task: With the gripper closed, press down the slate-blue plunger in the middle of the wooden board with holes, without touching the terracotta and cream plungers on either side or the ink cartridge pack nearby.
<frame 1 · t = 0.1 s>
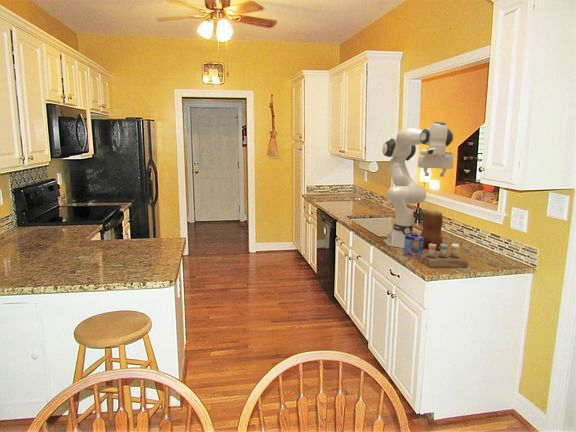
hand: (434, 176, 243), 48 cm above the counter, tool pointing down, fingers open, 8 cm apart
ink cartridge box: (412, 256, 256), on the counter
plunger cream: (454, 250, 241), point 8 cm above the counter, slide at 0.0 cm
wooden board with holes: (441, 264, 241), on the counter
brown rounded block: (430, 248, 279), on the counter
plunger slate: (443, 250, 240), point 8 cm above the counter, slide at 0.0 cm
plunger terracotta: (431, 250, 239), point 8 cm above the counter, slide at 0.0 cm
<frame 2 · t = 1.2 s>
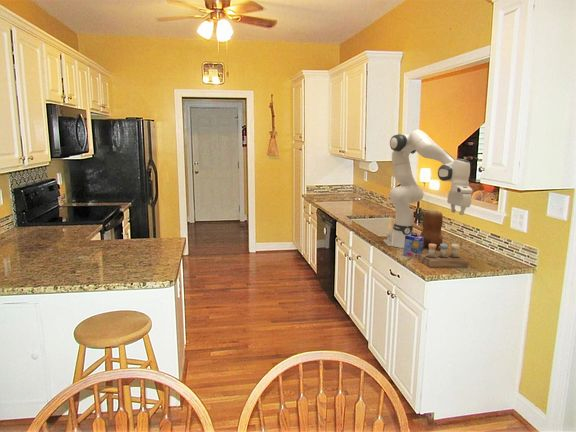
hand: (457, 213, 239), 29 cm above the counter, tool pointing down, fingers open, 8 cm apart
nothing on the counter moved.
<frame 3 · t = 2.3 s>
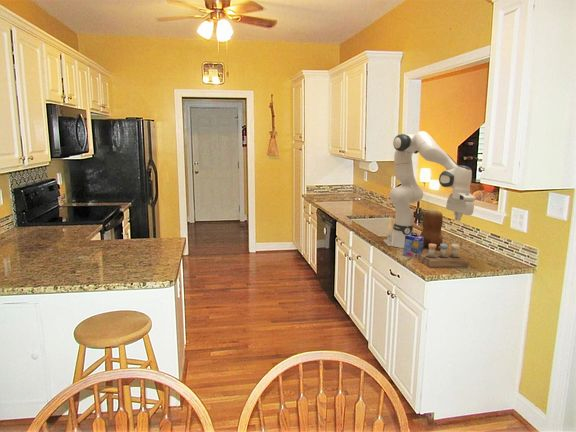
hand: (457, 220, 239), 25 cm above the counter, tool pointing down, fingers closed
nothing on the counter moved.
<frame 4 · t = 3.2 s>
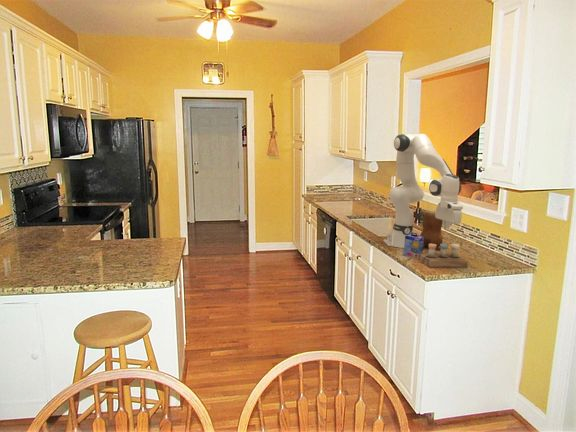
hand: (446, 229, 238), 20 cm above the counter, tool pointing down, fingers closed
nothing on the counter moved.
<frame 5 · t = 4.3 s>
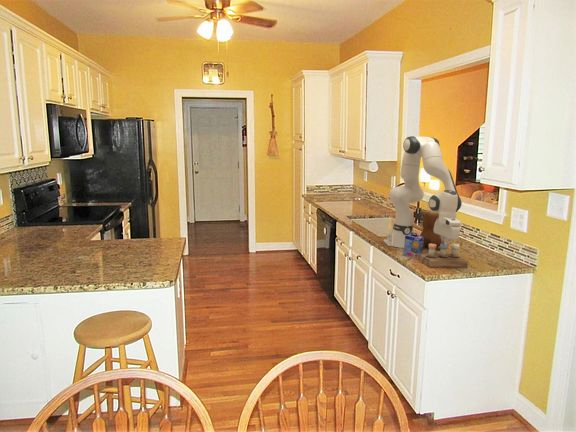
hand: (444, 244, 239), 11 cm above the counter, tool pointing down, fingers closed, pressing on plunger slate
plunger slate: (443, 250, 240), point 8 cm above the counter, slide at -0.1 cm, touching gripper
everything else where it was.
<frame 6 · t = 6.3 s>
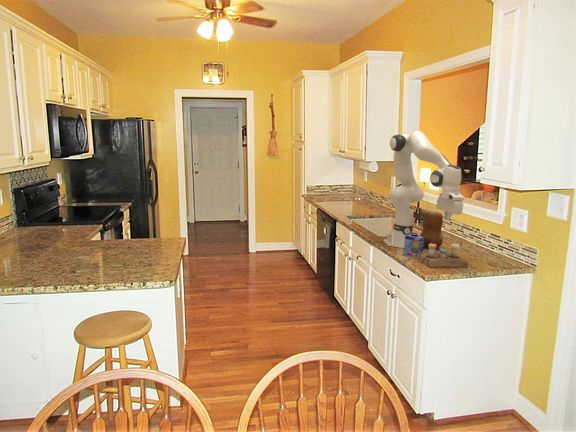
hand: (447, 220, 237), 25 cm above the counter, tool pointing down, fingers closed
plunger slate: (442, 254, 240), point 5 cm above the counter, slide at -2.6 cm
everything else where it was.
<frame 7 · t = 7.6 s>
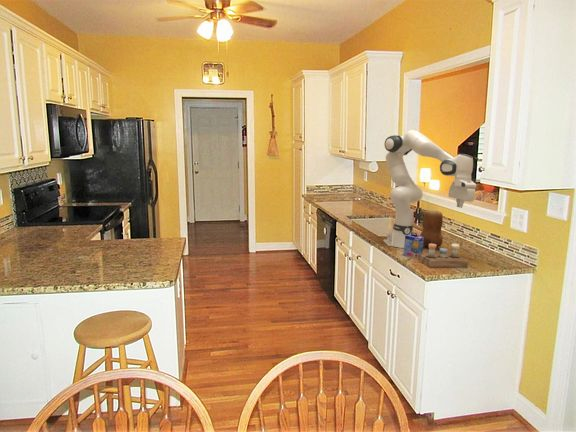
hand: (459, 207, 246), 31 cm above the counter, tool pointing down, fingers closed
nothing on the counter moved.
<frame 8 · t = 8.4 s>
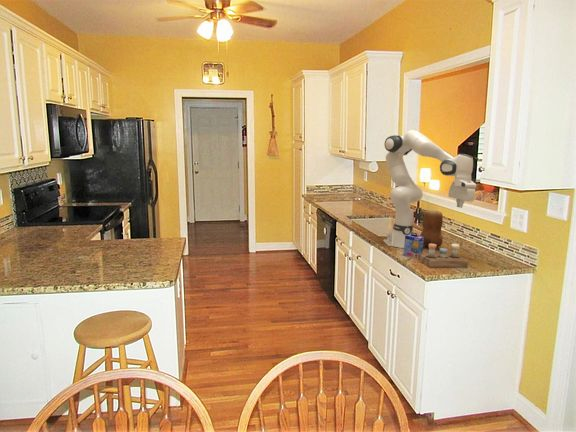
hand: (459, 207, 246), 31 cm above the counter, tool pointing down, fingers closed
nothing on the counter moved.
at the end: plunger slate slide at -2.6 cm; plunger terracotta slide at 0.0 cm; plunger cream slide at 0.0 cm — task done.
